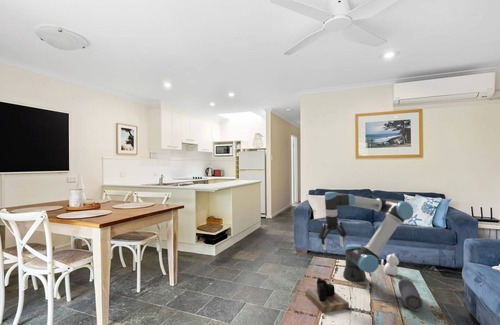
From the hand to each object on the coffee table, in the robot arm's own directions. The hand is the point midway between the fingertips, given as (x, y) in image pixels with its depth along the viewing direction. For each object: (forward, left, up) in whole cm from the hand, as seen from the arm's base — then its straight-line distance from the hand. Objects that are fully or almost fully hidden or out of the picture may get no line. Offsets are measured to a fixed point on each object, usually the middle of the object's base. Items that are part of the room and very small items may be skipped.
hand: (333, 248), depth 167 cm
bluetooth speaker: (-31, +28, -26) cm, 49 cm away
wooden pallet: (+15, +14, -26) cm, 33 cm away
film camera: (+15, +14, -23) cm, 30 cm away
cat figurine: (-53, -9, -26) cm, 60 cm away
